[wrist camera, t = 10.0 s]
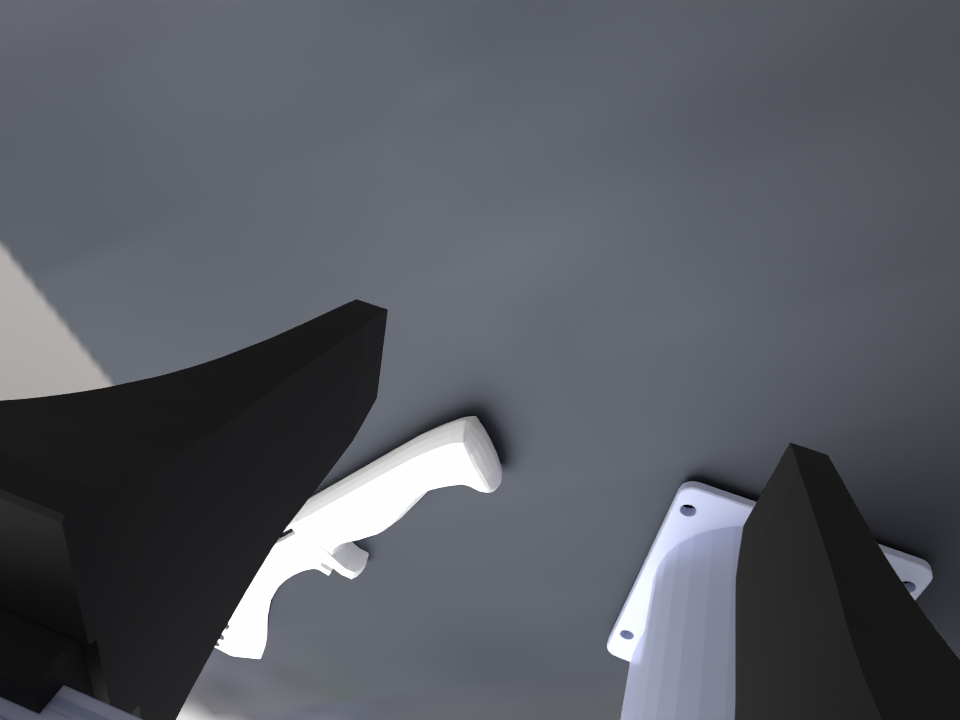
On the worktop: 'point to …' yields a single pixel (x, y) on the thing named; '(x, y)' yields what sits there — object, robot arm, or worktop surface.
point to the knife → (362, 517)
